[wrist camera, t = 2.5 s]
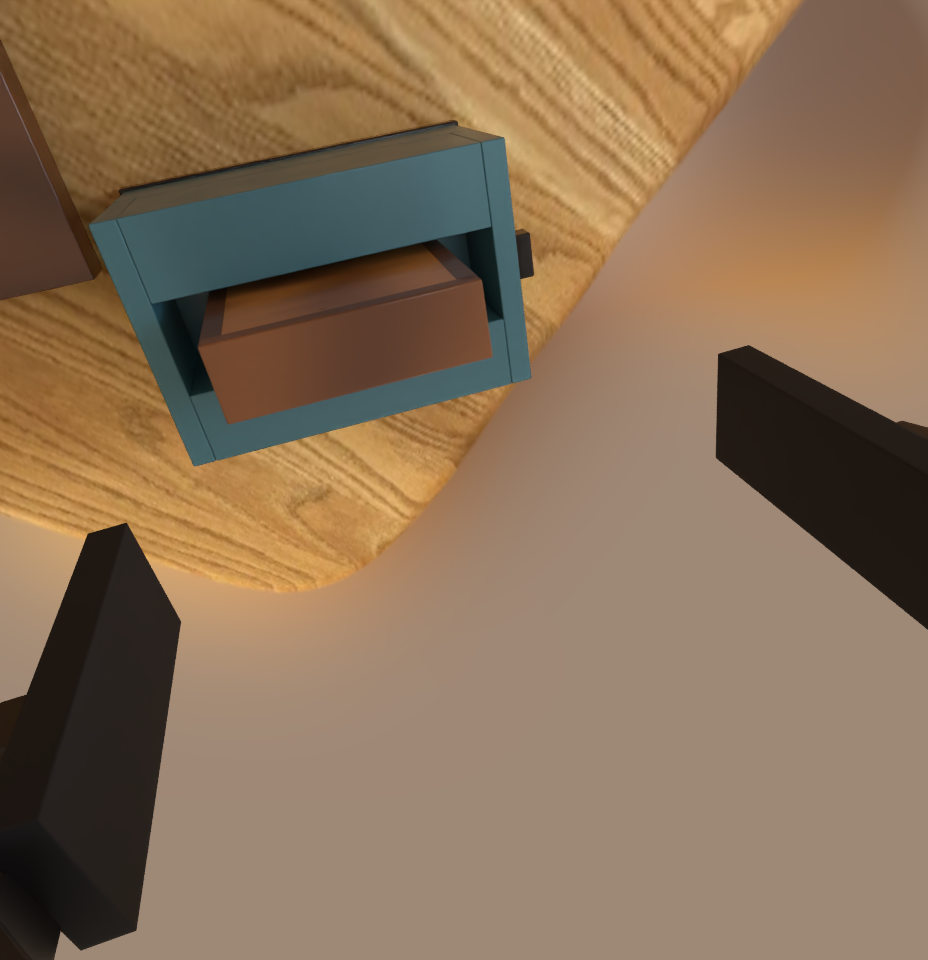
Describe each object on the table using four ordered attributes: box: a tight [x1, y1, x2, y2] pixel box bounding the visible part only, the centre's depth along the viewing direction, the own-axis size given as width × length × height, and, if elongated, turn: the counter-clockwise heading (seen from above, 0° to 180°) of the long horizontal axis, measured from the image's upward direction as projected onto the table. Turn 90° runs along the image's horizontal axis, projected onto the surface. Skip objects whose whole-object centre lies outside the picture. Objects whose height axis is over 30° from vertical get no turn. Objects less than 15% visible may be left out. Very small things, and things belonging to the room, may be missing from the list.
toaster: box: [89, 120, 534, 466], centre depth 33 cm, size 17×11×9 cm, turn 99°
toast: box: [198, 239, 493, 424], centre depth 29 cm, size 10×3×10 cm, turn 99°
